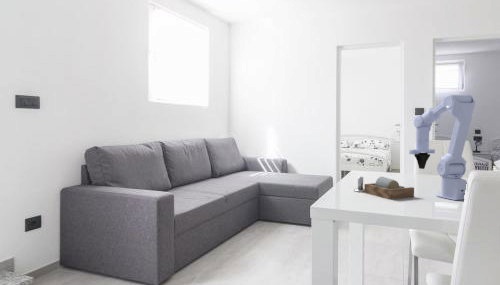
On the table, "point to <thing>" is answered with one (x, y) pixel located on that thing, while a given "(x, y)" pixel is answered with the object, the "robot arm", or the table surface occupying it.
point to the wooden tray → (388, 192)
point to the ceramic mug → (387, 183)
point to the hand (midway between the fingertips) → (421, 168)
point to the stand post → (360, 185)
